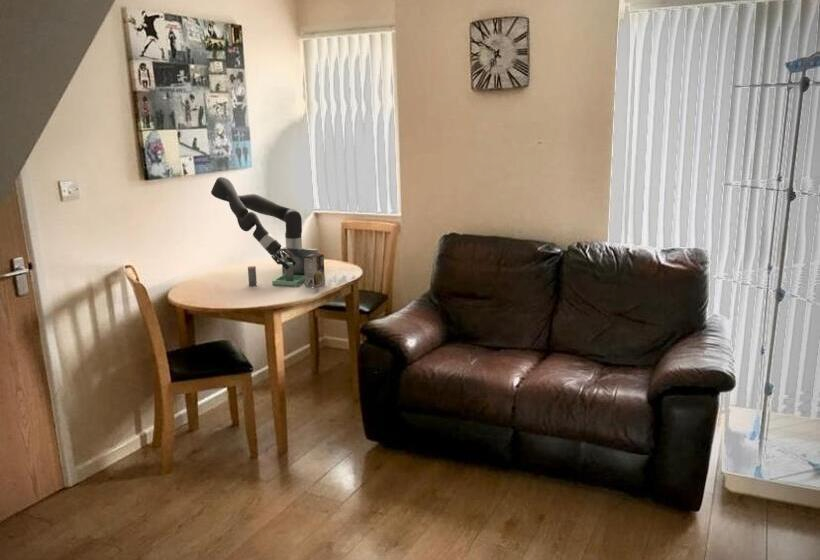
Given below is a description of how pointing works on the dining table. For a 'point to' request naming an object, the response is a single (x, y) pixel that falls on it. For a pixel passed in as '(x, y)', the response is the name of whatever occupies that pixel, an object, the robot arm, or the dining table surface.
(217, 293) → the dining table surface
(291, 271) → the green-capped canister
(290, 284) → the green tray
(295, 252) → the label unit
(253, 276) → the terracotta-capped canister
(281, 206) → the robot arm
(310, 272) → the coffee box
